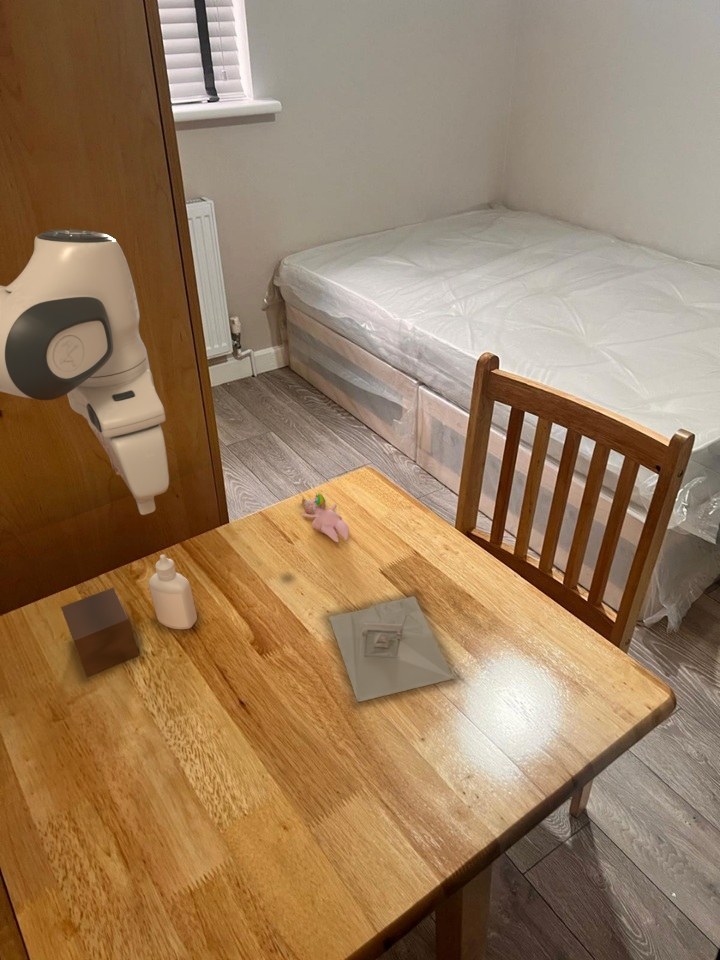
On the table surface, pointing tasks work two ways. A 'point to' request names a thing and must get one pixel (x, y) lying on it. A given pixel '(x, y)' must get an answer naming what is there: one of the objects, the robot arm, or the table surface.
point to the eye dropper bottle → (172, 596)
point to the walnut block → (100, 631)
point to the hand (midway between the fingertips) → (133, 490)
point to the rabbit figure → (325, 518)
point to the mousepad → (389, 649)
